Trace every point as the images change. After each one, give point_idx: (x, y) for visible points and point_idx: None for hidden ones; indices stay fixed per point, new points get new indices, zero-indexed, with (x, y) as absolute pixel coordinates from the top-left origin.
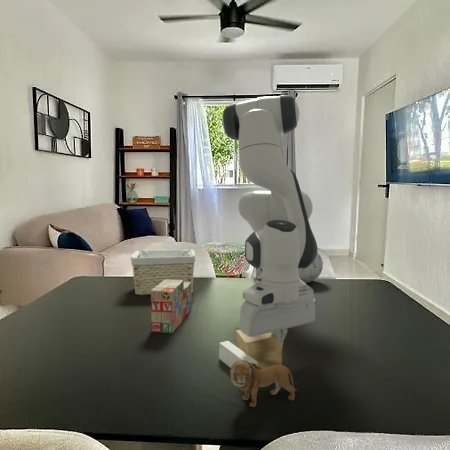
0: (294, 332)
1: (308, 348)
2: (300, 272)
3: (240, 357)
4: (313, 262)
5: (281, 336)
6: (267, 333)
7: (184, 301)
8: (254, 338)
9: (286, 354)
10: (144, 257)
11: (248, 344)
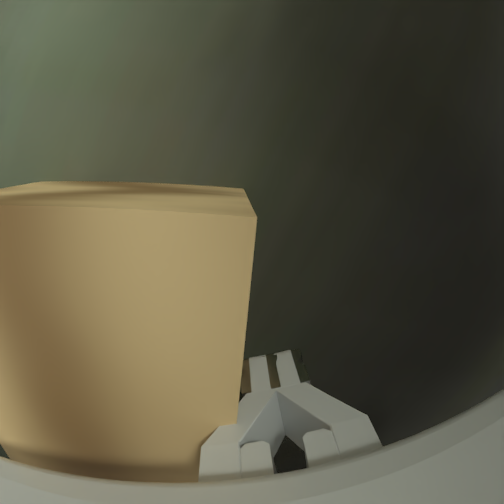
0: (496, 46)
1: (475, 250)
2: None
3: None
4: None
5: (302, 441)
6: (178, 399)
7: None
8: (41, 428)
9: (340, 286)
10: None
11: (17, 460)
